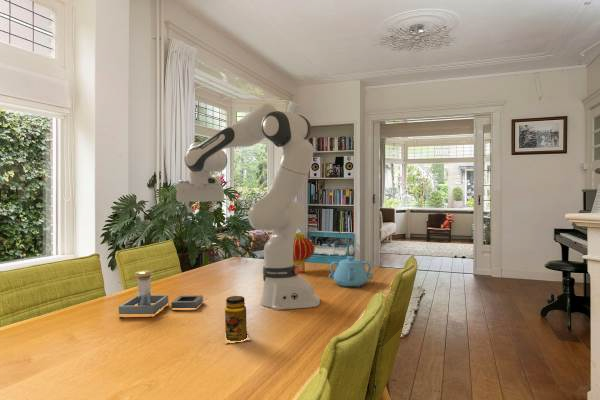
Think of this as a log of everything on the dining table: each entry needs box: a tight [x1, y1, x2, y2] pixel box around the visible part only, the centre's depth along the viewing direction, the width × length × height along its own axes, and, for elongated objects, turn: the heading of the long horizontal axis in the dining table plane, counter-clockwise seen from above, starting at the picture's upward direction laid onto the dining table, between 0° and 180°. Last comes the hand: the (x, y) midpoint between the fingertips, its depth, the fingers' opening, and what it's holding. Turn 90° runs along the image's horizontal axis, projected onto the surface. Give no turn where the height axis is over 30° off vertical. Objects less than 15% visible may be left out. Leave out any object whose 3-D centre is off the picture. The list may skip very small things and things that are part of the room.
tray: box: [118, 294, 169, 315], centre depth 139 cm, size 12×14×4 cm
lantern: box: [293, 232, 316, 274], centre depth 202 cm, size 17×17×30 cm
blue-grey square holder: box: [170, 294, 204, 309], centre depth 144 cm, size 9×9×3 cm
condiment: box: [224, 295, 249, 341], centre depth 112 cm, size 7×8×12 cm
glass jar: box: [134, 270, 154, 306], centre depth 139 cm, size 6×6×13 cm
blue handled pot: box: [328, 255, 373, 288], centre depth 172 cm, size 20×20×13 cm
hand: (200, 212), depth 167 cm, fingers open, 8 cm apart
